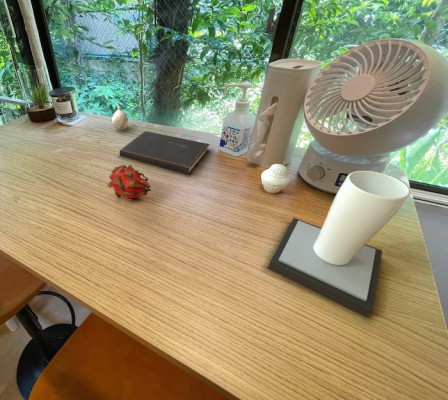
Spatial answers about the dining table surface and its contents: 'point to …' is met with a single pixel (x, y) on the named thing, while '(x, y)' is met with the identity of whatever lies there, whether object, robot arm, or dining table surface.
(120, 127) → the garlic bulb
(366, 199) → the white cup
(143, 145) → the hardcover book
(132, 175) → the dragon fruit
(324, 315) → the dining table surface
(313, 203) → the dining table surface
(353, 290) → the scale
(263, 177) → the muffin
